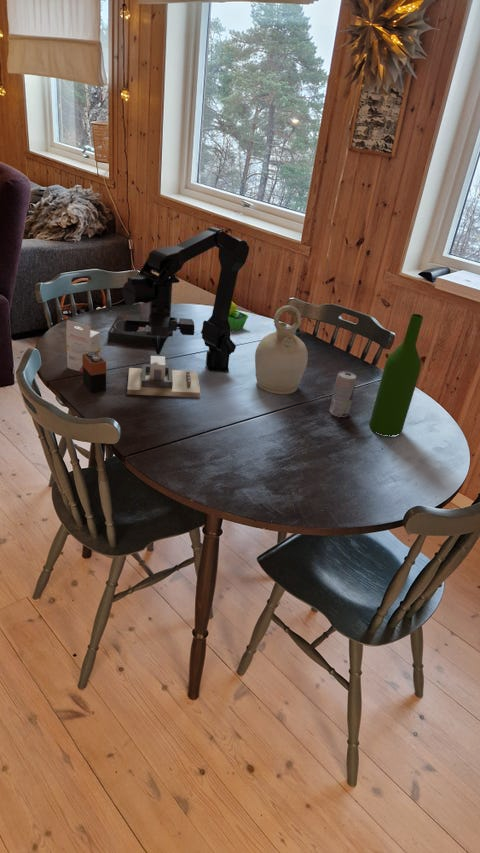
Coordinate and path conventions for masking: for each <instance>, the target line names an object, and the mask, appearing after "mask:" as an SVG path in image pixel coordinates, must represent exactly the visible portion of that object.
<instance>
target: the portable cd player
mask: <svg viewBox="0 0 480 853" xmlns="http://www.w3.org/2000/svg"><path fill="white" fill-rule="evenodd" d="M125 316H126V315H125ZM125 316H124V315H117V317H116V318H115V320H114V321H113V323H112V325H111V326H110V328H109V330H108V332H107V341H108V342H110V343H109V344H119V345H128V346H137V347H145V348H152V349H155V347H154V344H153V341H152V339H151V337H150V336H149V335H146V329H145V327H139V330H137V331H136V332H130V331H124V319H125ZM139 320H149V318H143V317H139ZM157 339H158V347H159V341H160V336H159V335H157Z"/></svg>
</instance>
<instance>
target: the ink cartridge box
mask: <svg viewBox="0 0 480 853" xmlns="http://www.w3.org/2000/svg"><path fill="white" fill-rule="evenodd" d="M91 328H92V327H91V325H87V324H83V323H80V322H76V321H72V320H69V319H67V320H66V331H65V339H66V358H67V359H66V361H67V362H66V363H67V365H66V366H67V368H68V369H70V370H73V371H76V372H77V371H78V372H80V373H83V359H82V355H83V354H88V353H89V352H90V351H93V352H95V353H98V354H99V355H100V356H101V332H100V331H96V330H92V329H91Z"/></svg>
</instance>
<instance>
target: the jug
mask: <svg viewBox="0 0 480 853" xmlns="http://www.w3.org/2000/svg"><path fill="white" fill-rule="evenodd" d="M286 312H292V313H293V314H294V316H295V322H294V323H293V324H292V325H290V326H288V323H287V322H284V321H282V322H280V318H281V316H282V315H283V314H284V313H286ZM301 322H302V316H301V313H300V311H299V309H298V308H296V307H295V306H294V305H290V304H287V305H283V306H281V307H280V308H278V309H277V311H276V312H275V314H274V317H273V323H274V324H273V325H274V327H275V329H276V330H275V331H274V332H272V333H269V334H267V335H265V336H264V337H263V338H262V339H260V341H259V343H258V345H257V346H256V349H255V352H254V354H255V355H254V364H255V378H256V383H257V386H258V387H259V388H260V389H261V390H263V391H265V392H267V393H270V394H274V395H282V396H283V395H289V394H294V393H295V392H296V391H297V390H298V386H299V385H300V383H301V381H302V378H303V376H304V373H305V370H306V369H307V365H308V357H309V356H308V349H307V346H306V345H305V343H304V342H303V341H302V339H301V338H299V337H298V336H297V335H296V334H294V332H295V331H297V329H299V327H300V325H301Z"/></svg>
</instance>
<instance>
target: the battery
mask: <svg viewBox="0 0 480 853" xmlns="http://www.w3.org/2000/svg"><path fill="white" fill-rule="evenodd" d="M82 359H83V372H82V383H83V385H84V387H85V388H86V389H87V390H88V391H89V392H90V393H91V395H92V394H99V393H104V392H107V361H106V360H105V359H104V357H102V356H101V354H100V355H99V354H98V353H95V352H93V351H90V352H89V353H88V354H83V355H82Z"/></svg>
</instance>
